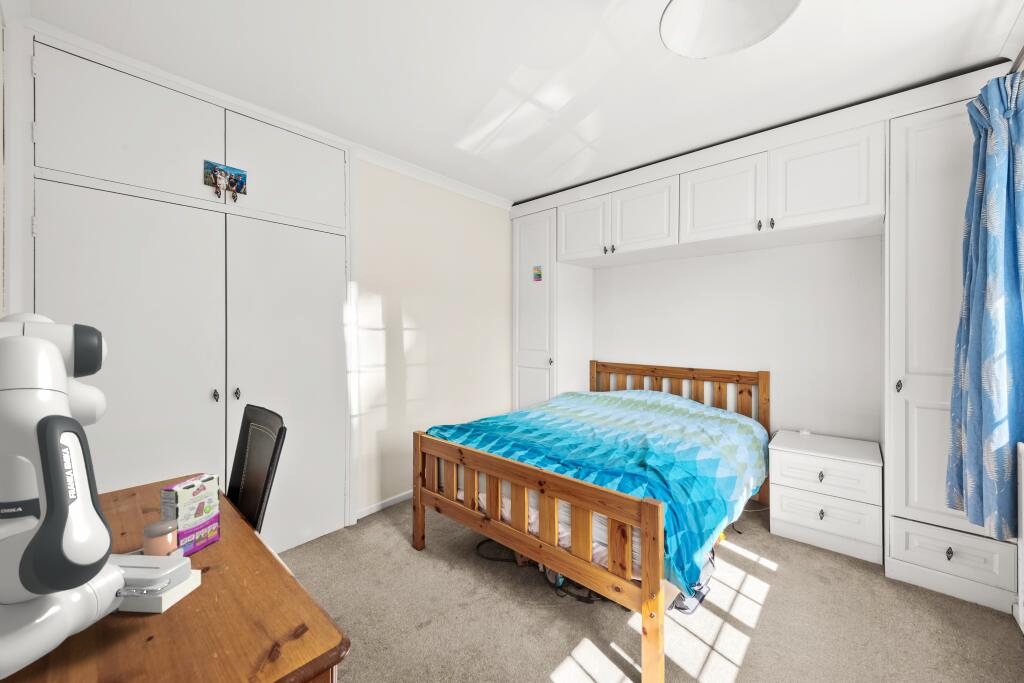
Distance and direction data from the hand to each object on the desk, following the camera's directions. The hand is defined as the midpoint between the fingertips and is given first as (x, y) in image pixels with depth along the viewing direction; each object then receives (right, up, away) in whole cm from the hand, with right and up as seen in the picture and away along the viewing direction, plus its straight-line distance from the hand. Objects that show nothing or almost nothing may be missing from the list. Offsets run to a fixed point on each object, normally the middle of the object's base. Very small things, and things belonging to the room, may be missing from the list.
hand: (164, 551), depth 84 cm
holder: (0, -9, -1) cm, 9 cm away
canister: (0, -9, -1) cm, 9 cm away
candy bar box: (-8, -9, +18) cm, 21 cm away
